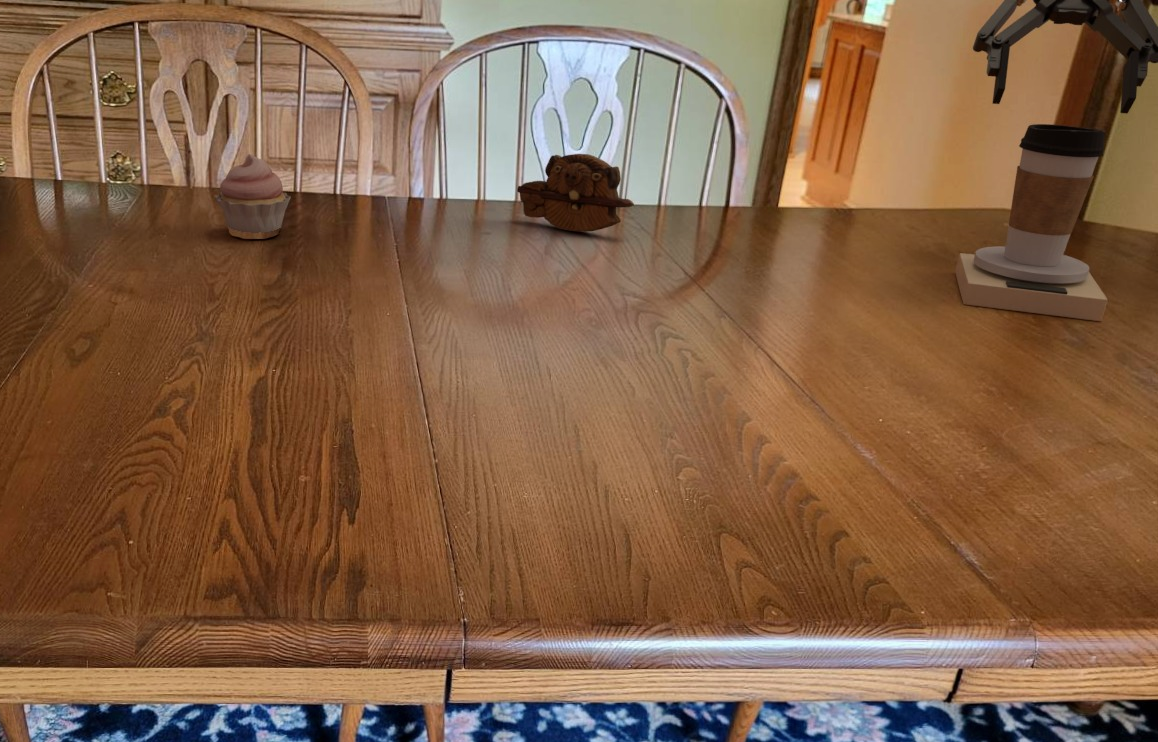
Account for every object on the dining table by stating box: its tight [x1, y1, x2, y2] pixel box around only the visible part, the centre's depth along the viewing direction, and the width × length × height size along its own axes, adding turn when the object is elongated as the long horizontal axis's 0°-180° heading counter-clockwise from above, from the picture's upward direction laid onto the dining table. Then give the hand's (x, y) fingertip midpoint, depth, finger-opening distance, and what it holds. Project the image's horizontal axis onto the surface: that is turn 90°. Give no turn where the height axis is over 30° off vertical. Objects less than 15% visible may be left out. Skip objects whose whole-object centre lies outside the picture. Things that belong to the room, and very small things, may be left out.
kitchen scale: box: [954, 245, 1109, 322], centre depth 126 cm, size 14×14×4 cm
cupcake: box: [214, 153, 291, 233], centre depth 137 cm, size 9×9×10 cm
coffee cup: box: [1004, 123, 1107, 267], centre depth 123 cm, size 8×8×15 cm
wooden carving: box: [516, 153, 635, 233], centre depth 145 cm, size 16×5×10 cm, turn 60°
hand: (1062, 101), depth 127 cm, fingers open, 13 cm apart
